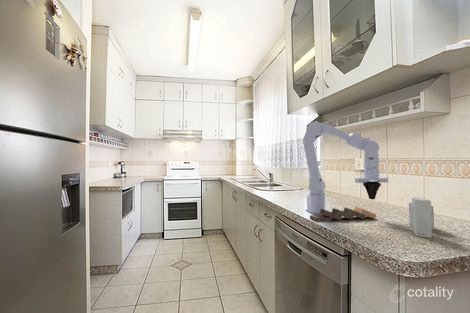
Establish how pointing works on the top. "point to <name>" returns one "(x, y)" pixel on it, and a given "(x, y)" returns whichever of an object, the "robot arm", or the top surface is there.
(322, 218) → the dark tile
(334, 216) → the dark tile
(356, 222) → the top surface
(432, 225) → the medicine box
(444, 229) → the top surface
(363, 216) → the domino block
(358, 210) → the peach block
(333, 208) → the dark tile
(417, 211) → the skincare box
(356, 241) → the top surface
